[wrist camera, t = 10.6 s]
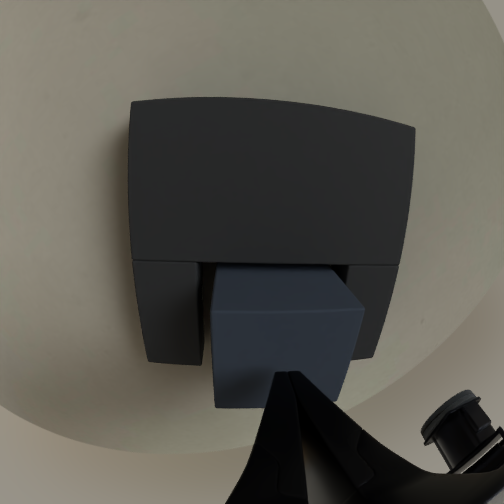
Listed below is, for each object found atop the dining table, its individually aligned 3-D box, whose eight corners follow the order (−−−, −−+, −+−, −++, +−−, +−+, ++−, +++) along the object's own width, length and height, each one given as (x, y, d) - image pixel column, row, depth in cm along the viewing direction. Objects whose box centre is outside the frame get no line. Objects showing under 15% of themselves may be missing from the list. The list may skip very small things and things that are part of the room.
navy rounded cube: (310, 338, 15) (337, 401, 10) (218, 339, 15) (214, 409, 10) (323, 258, 13) (366, 308, 9) (217, 256, 13) (209, 311, 8)
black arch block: (359, 338, 15) (373, 358, 13) (155, 339, 14) (147, 362, 12) (393, 129, 12) (416, 127, 10) (145, 109, 11) (130, 101, 9)
